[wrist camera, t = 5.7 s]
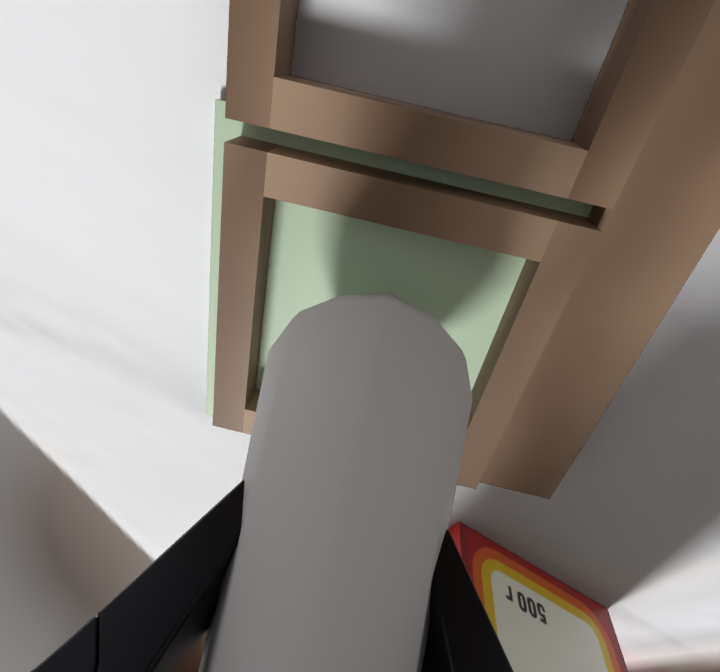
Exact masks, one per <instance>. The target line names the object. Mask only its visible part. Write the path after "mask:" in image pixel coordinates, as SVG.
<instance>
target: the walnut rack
mask: <svg viewBox="0 0 720 672" xmlns="http://www.w3.org/2000/svg"><path fill="white" fill-rule="evenodd" d="M297 8H298V0H230V6H229V31H228V56H227V81H226V106H225V118H227V119H232V120H236V121H240V122H244V123H248V124H253V125H257V126H261V127H265V128H270V129H274V130H278V131H282V132H287V133H291V134H295V135H299V136H304V137H308V138H312V139H316V140H320V141H325V142H329V143H333V144H337V145H342V146H346V147H350V148H354V149H359V150H363V151H367V152H371V153H376V154H380V155H384V156H388V157H392V158H397V159H401V160H405V161H409V162H414V163H418V164H422V165H426V166H431V167H435V168H439V169H443V170H448V171H452V172H456V173H460V174H464V175H469V176H473V177H477V178H481V179H486V180H490V181H494V182H498V183H503V184H507V185H511V186H515V187H520V188H524V189H528V190H532V191H537V192H541V193H545V194H549V195H553V196H558V197H562V198H566V199H570V200H575V201H579V202H583V203H587V204H592V205H593V207H592V209H591V211H590V214H589V216H588V218H587V217H583V216H579V215H574V214H570V213H566V212H562V211H557V210H553V209H549V208H545V207H540V206H536V205H532V204H528V203H524V202H519V201H515V200H511V199H507V198H502V197H498V196H494V195H490V194H485V193H481V192H477V191H473V190H469V189H464V188H460V187H456V186H452V185H447V184H443V183H439V182H435V181H430V180H426V179H422V178H418V177H414V176H409V175H405V174H401V173H397V172H392V171H388V170H384V169H380V168H375V167H371V166H367V165H363V164H359V163H354V162H350V161H346V160H342V159H337V158H333V157H329V156H325V155H320V154H316V153H312V152H308V151H304V150H299V149H295V148H291V147H287V146H282V145H278V144H274V143H270V142H265V141H261V140H257V139H253V138H249V137H244V136H239V137H236V138H233V139H231V140H228V141H225V142H224V155H223V180H222V205H221V230H220V254H219V279H218V304H217V329H216V354H215V379H214V403H213V426H217V427H222V428H226V429H230V430H234V431H238V432H242V433H246V434H250V435H251V434H252V429H253V424H254V419H255V414H256V409H257V404H258V399H259V395H260V390H261V389H257V388H256V384H257V374H258V364H259V354H260V344H261V335H262V325H263V315H264V305H265V295H266V285H267V275H268V265H269V255H270V246H271V236H272V226H273V216H274V206H275V199H276V200H281V201H285V202H289V203H293V204H297V205H302V206H306V207H310V208H314V209H318V210H323V211H327V212H331V213H335V214H339V215H344V216H348V217H352V218H356V219H361V220H365V221H369V222H373V223H377V224H382V225H386V226H390V227H394V228H398V229H403V230H407V231H411V232H415V233H420V234H424V235H428V236H432V237H436V238H441V239H445V240H449V241H453V242H457V243H462V244H466V245H470V246H474V247H478V248H483V249H487V250H491V251H495V252H500V253H504V254H508V255H512V256H516V257H521V258H525V259H526V261H525V263H524V266H523V268H522V270H521V273H520V275H519V278H518V280H517V282H516V285H515V287H514V290H513V292H512V294H511V297H510V299H509V302H508V304H507V306H506V309H505V311H504V314H503V316H502V319H501V321H500V323H499V326H498V328H497V331H496V333H495V335H494V338H493V340H492V343H491V345H490V347H489V350H488V352H487V355H486V357H485V359H484V362H483V364H482V367H481V369H480V372H479V374H478V376H477V379H476V381H475V384H474V386H473V388H472V391H471V393H472V405H471V411H470V416H469V421H468V427H467V432H466V437H465V442H464V448H463V453H462V458H461V464H460V469H459V474H458V479H457V485H461V486H465V487H469V488H474V489H476V487H477V485H478V483H479V482H481V483H485V484H489V485H493V486H498V487H502V488H506V489H510V490H514V491H518V492H522V493H527V494H531V495H535V496H539V497H543V498H547V499H550V497H551V496H552V494H553V492H554V491H555V489H556V488H557V486H558V485H559V483H560V481H561V480H562V478H563V477H564V475H565V473H566V472H567V470H568V469H569V467H570V465H571V464H572V462H573V461H574V459H575V457H576V456H577V454H578V453H579V451H580V449H581V448H582V446H583V445H584V443H585V441H586V440H587V438H588V437H589V435H590V434H591V432H592V430H593V429H594V427H595V426H596V424H597V422H598V421H599V419H600V418H601V416H602V414H603V413H604V411H605V410H606V408H607V406H608V405H609V403H610V402H611V400H612V398H613V397H614V395H615V394H616V392H617V390H618V389H619V387H620V386H621V384H622V383H623V381H624V379H625V378H626V376H627V375H628V373H629V371H630V370H631V368H632V367H633V365H634V363H635V362H636V360H637V359H638V357H639V355H640V354H641V352H642V351H643V349H644V347H645V346H646V344H647V343H648V341H649V339H650V338H651V336H652V335H653V333H654V332H655V330H656V328H657V327H658V325H659V324H660V322H661V320H662V319H663V317H664V316H665V314H666V312H667V311H668V309H669V308H670V306H671V304H672V303H673V301H674V300H675V298H676V296H677V295H678V293H679V292H680V290H681V288H682V287H683V285H684V284H685V282H686V281H687V279H688V277H689V276H690V274H691V273H692V271H693V269H694V268H695V266H696V265H697V263H698V261H699V260H700V258H701V257H702V255H703V253H704V252H705V250H706V249H707V247H708V245H709V244H710V242H711V241H712V239H713V237H714V236H715V234H716V233H717V231H718V230H719V228H720V0H629V3H628V5H627V8H626V10H625V12H624V15H623V17H622V20H621V22H620V25H619V27H618V29H617V32H616V34H615V37H614V39H613V42H612V44H611V47H610V49H609V51H608V54H607V56H606V59H605V61H604V64H603V66H602V68H601V71H600V73H599V76H598V78H597V81H596V83H595V85H594V88H593V90H592V93H591V95H590V98H589V100H588V102H587V105H586V107H585V110H584V112H583V115H582V117H581V119H580V122H579V124H578V127H577V129H576V132H575V134H574V136H573V139H572V141H571V142H570V141H566V140H562V139H558V138H553V137H549V136H545V135H541V134H536V133H532V132H528V131H524V130H519V129H515V128H511V127H507V126H502V125H498V124H494V123H490V122H485V121H481V120H477V119H473V118H468V117H464V116H460V115H456V114H451V113H447V112H443V111H439V110H434V109H430V108H426V107H422V106H417V105H413V104H409V103H404V102H400V101H396V100H392V99H387V98H383V97H379V96H375V95H370V94H366V93H362V92H358V91H353V90H349V89H345V88H341V87H336V86H332V85H328V84H324V83H319V82H315V81H311V80H307V79H302V78H298V77H294V76H291V66H292V56H293V47H294V37H295V27H296V18H297Z"/></svg>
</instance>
